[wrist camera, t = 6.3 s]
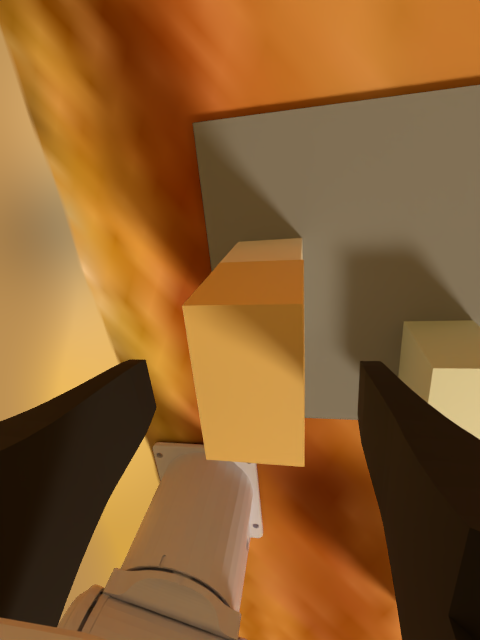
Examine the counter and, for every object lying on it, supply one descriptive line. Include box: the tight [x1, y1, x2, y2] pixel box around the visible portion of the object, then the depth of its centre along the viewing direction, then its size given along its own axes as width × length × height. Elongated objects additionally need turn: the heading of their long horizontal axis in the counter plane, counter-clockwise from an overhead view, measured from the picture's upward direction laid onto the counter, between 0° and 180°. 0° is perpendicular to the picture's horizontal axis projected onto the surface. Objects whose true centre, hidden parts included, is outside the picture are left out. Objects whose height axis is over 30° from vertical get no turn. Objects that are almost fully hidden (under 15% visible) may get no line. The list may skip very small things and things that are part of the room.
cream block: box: [220, 238, 303, 263], centre depth 18 cm, size 6×4×5 cm, turn 5°
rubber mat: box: [193, 85, 480, 420], centre depth 19 cm, size 18×18×1 cm
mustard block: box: [182, 260, 305, 467], centre depth 13 cm, size 6×4×5 cm, turn 5°
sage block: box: [398, 320, 480, 439], centre depth 18 cm, size 6×4×5 cm, turn 5°
